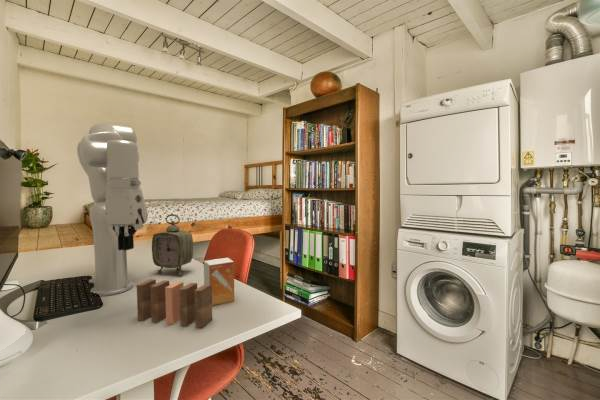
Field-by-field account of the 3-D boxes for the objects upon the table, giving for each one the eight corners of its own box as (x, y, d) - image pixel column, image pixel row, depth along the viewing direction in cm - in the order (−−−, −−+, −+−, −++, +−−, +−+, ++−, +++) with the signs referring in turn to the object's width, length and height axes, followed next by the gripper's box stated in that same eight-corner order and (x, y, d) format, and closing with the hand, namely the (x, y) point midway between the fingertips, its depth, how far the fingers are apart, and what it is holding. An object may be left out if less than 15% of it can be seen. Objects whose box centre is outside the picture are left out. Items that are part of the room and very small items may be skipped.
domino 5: (195, 327, 76) (194, 290, 75) (205, 319, 81) (205, 283, 80) (202, 328, 75) (201, 290, 75) (212, 319, 80) (211, 284, 80)
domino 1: (137, 320, 80) (136, 284, 80) (151, 312, 85) (149, 279, 84) (143, 321, 80) (142, 285, 79) (156, 313, 85) (155, 279, 84)
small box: (209, 307, 89) (208, 265, 88) (204, 300, 94) (203, 260, 93) (235, 301, 93) (234, 261, 92) (228, 294, 98) (227, 256, 98)
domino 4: (180, 325, 77) (179, 288, 76) (191, 317, 82) (190, 282, 81) (187, 326, 77) (186, 289, 76) (198, 318, 81) (197, 283, 81)
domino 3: (166, 323, 78) (165, 287, 78) (178, 315, 83) (177, 281, 82) (172, 324, 78) (171, 288, 77) (184, 316, 83) (183, 281, 82)
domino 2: (151, 322, 79) (150, 286, 79) (164, 314, 84) (163, 280, 83) (157, 322, 79) (156, 286, 78) (170, 314, 84) (169, 280, 83)
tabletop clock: (152, 274, 121) (150, 214, 119) (168, 268, 129) (166, 212, 128) (181, 277, 116) (180, 215, 115) (196, 271, 125) (194, 213, 124)
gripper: (156, 184, 84) (158, 247, 85) (113, 184, 87) (115, 245, 88) (136, 185, 76) (138, 253, 77) (89, 185, 80) (92, 250, 81)
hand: (126, 249), depth 83 cm, fingers closed
